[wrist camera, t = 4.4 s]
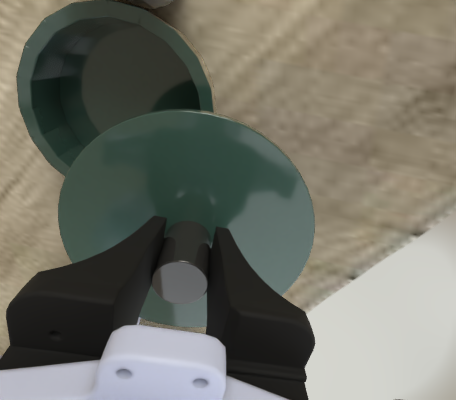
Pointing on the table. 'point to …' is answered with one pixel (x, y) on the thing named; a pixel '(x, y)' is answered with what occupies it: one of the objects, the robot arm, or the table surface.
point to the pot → (103, 75)
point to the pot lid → (188, 203)
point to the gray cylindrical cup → (150, 3)
